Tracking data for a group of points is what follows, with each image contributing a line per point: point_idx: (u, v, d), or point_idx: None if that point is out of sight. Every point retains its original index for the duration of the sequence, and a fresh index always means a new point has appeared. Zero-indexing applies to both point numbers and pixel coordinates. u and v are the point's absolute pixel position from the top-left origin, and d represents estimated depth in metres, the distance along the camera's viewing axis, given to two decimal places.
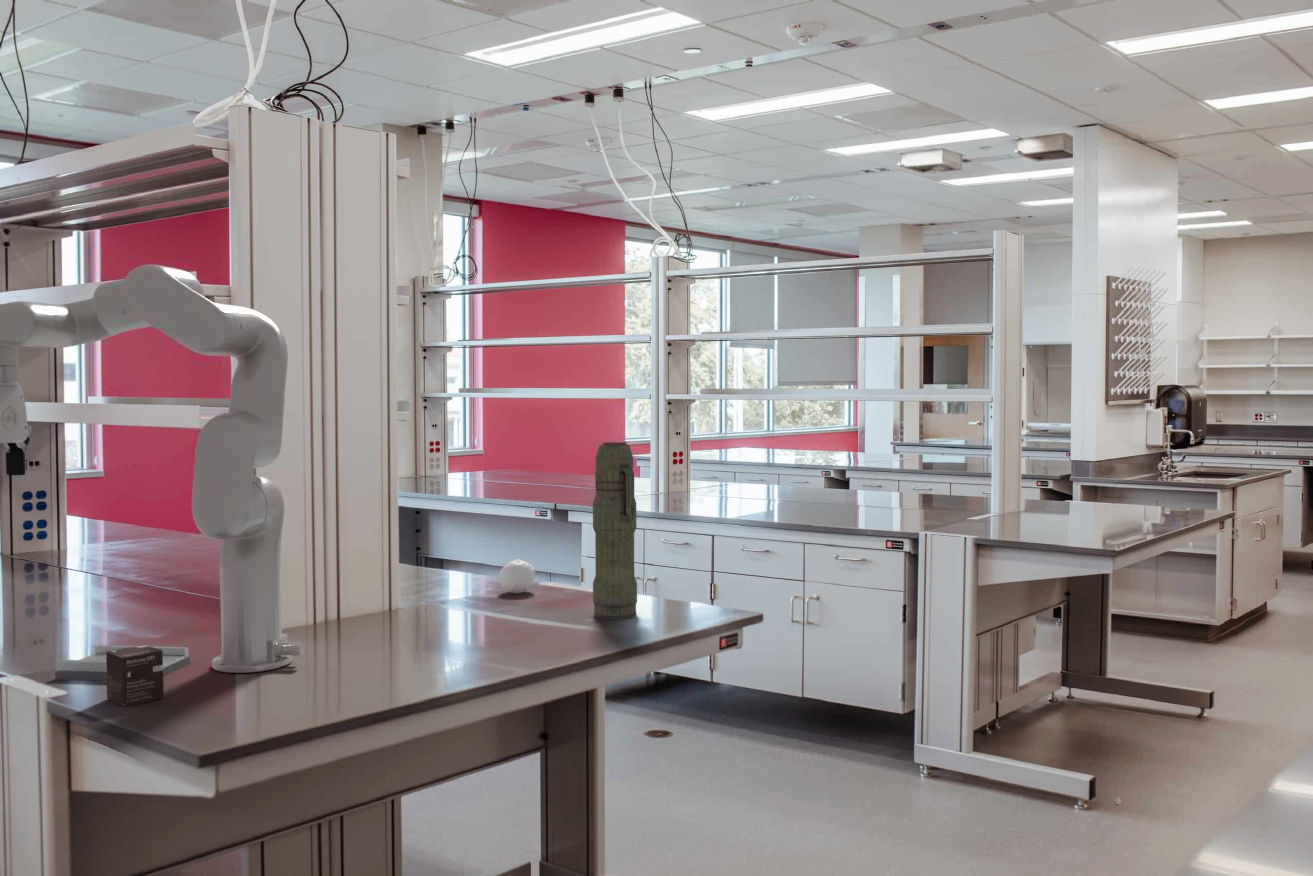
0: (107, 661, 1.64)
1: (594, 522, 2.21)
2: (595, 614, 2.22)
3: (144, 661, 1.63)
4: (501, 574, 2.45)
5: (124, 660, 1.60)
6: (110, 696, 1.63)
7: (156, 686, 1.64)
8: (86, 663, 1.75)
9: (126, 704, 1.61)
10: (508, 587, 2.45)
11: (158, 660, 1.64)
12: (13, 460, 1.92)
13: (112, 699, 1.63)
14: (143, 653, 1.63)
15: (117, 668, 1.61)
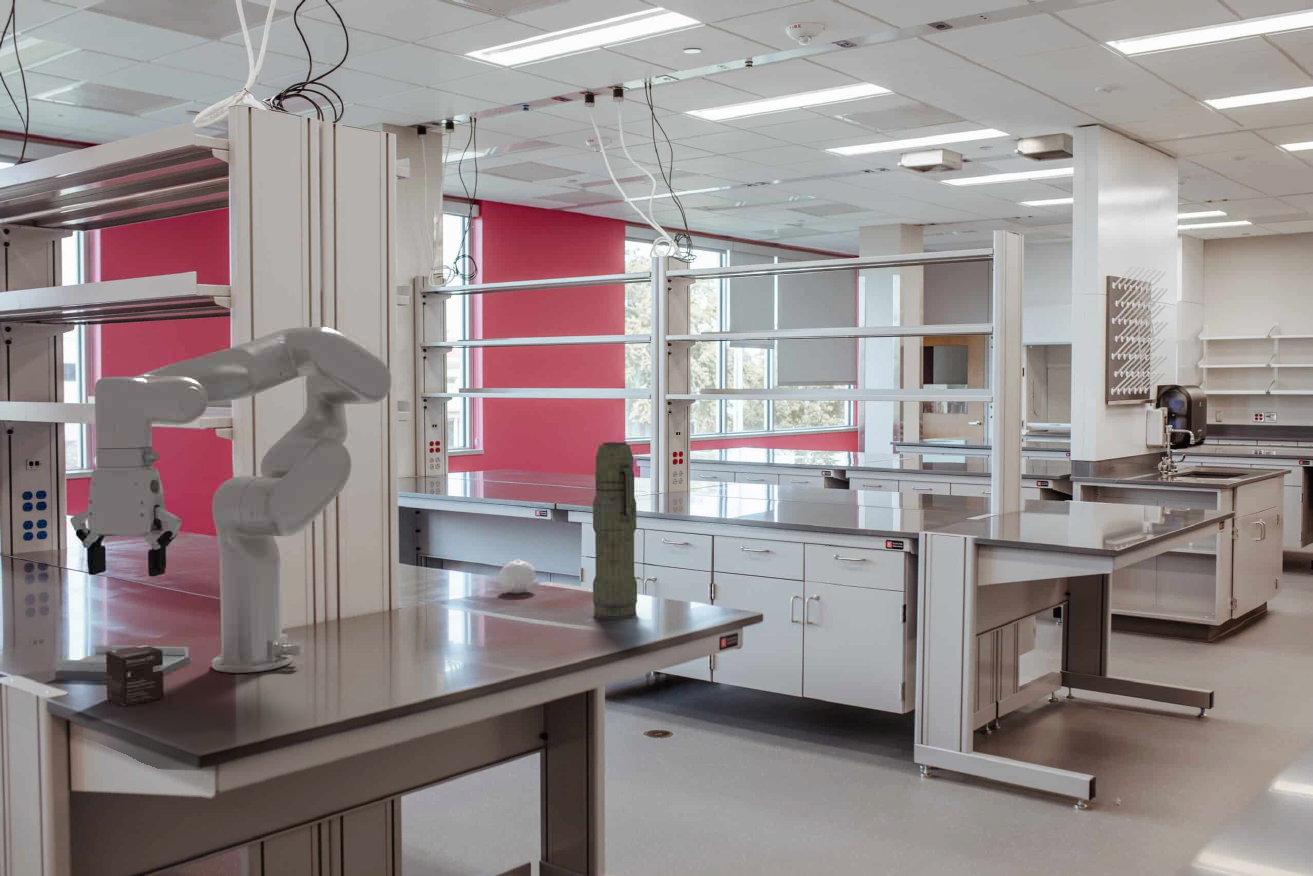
0: (107, 661, 1.64)
1: (594, 522, 2.21)
2: (595, 614, 2.22)
3: (144, 661, 1.63)
4: (501, 574, 2.45)
5: (124, 660, 1.60)
6: (110, 696, 1.63)
7: (156, 686, 1.64)
8: (86, 663, 1.75)
9: (126, 704, 1.61)
10: (508, 587, 2.45)
11: (158, 659, 1.64)
12: (99, 556, 1.65)
13: (112, 699, 1.63)
14: (143, 653, 1.63)
15: (117, 668, 1.61)
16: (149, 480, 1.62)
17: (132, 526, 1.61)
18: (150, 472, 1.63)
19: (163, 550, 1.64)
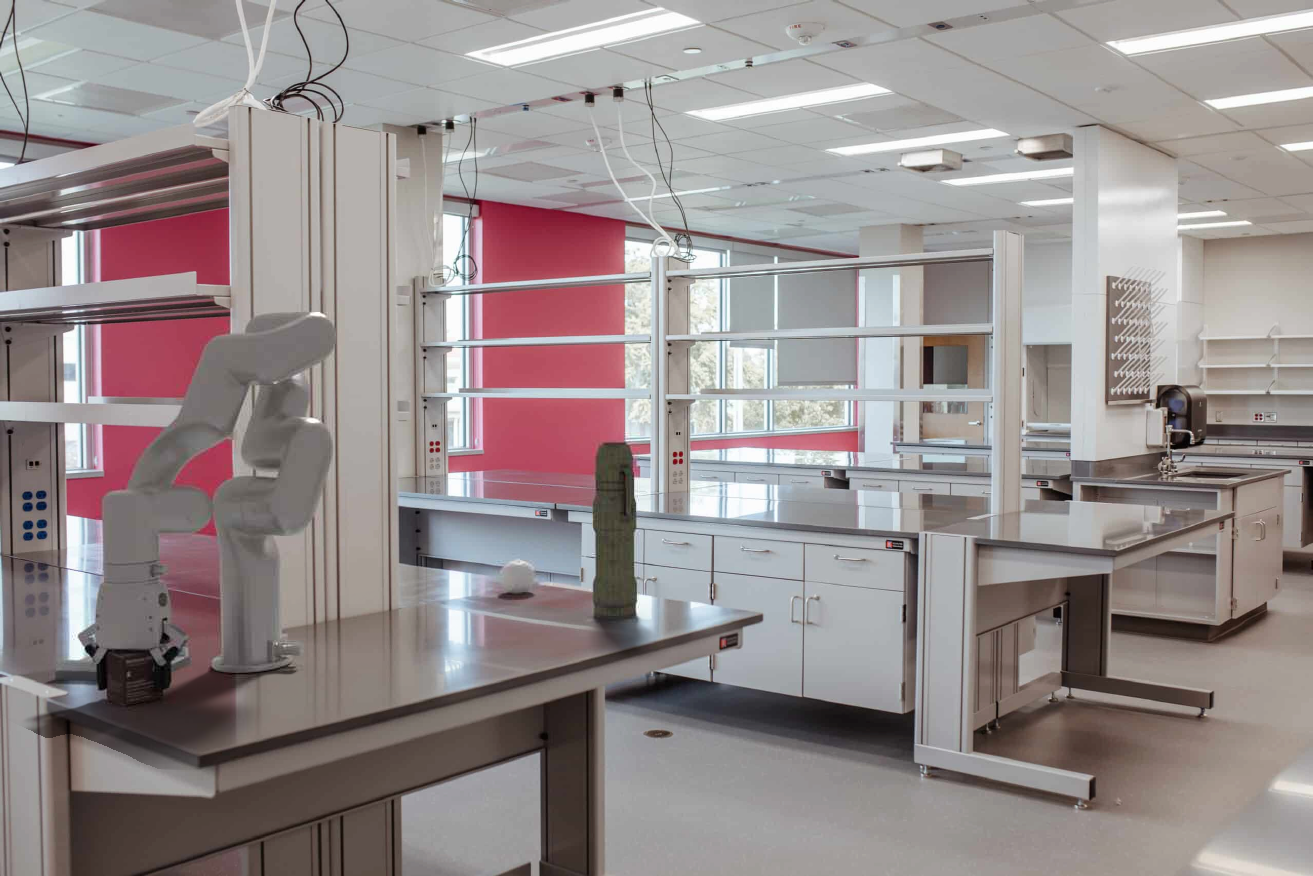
0: (107, 661, 1.64)
1: (594, 523, 2.21)
2: (595, 614, 2.22)
3: (144, 660, 1.63)
4: (501, 574, 2.45)
5: (123, 660, 1.60)
6: (110, 696, 1.63)
7: None
8: (86, 663, 1.75)
9: (126, 704, 1.61)
10: (508, 587, 2.45)
11: None
12: None
13: (112, 699, 1.63)
14: (143, 653, 1.63)
15: (116, 668, 1.61)
16: (157, 594, 1.62)
17: (141, 640, 1.62)
18: (158, 586, 1.63)
19: (169, 665, 1.64)
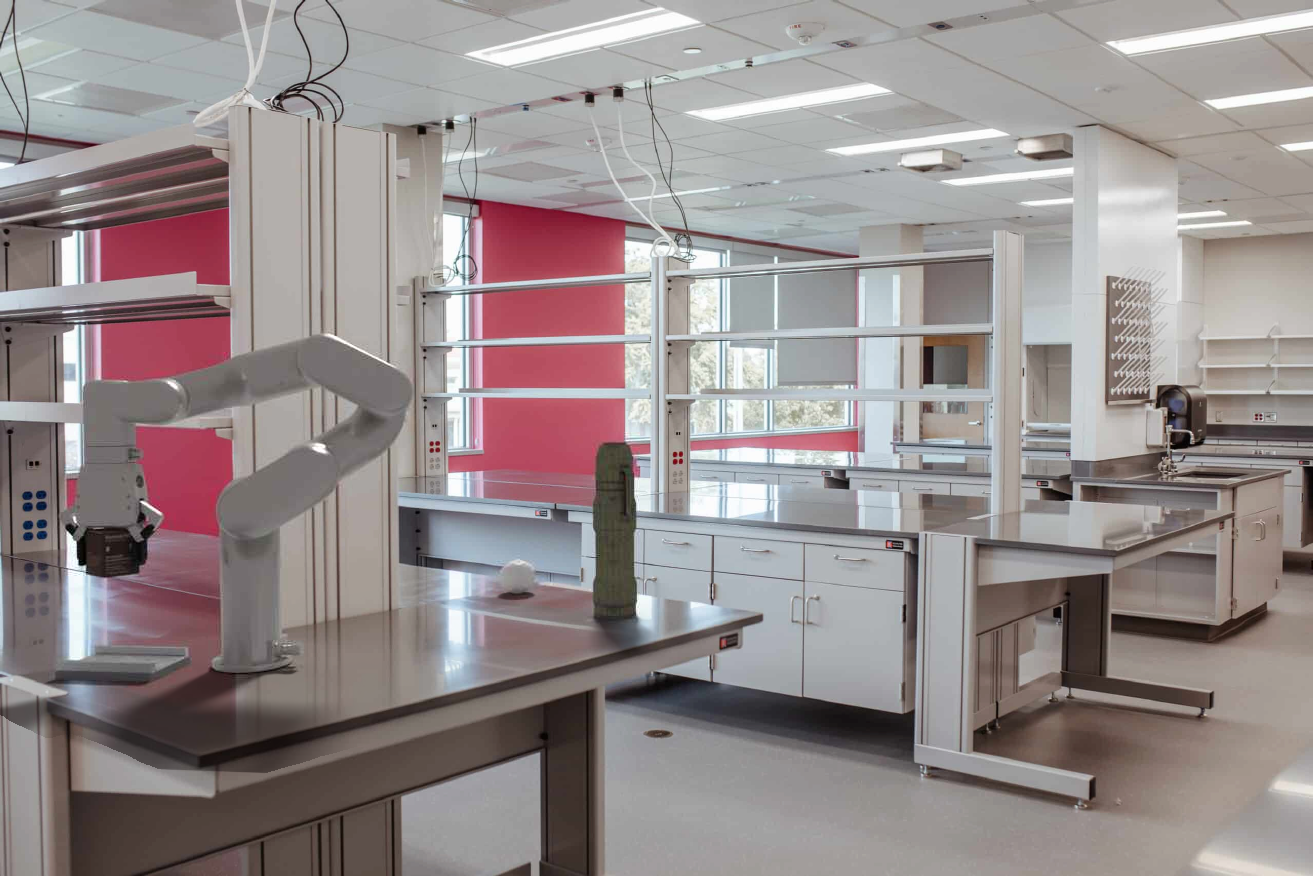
0: (86, 538, 1.76)
1: (594, 523, 2.21)
2: (595, 614, 2.22)
3: (122, 537, 1.75)
4: (501, 574, 2.45)
5: (103, 536, 1.73)
6: (89, 571, 1.76)
7: None
8: (86, 663, 1.75)
9: (105, 576, 1.73)
10: (508, 587, 2.45)
11: None
12: None
13: (91, 573, 1.75)
14: (120, 530, 1.75)
15: (96, 543, 1.74)
16: (135, 475, 1.75)
17: (119, 518, 1.74)
18: (135, 468, 1.76)
19: (145, 542, 1.77)
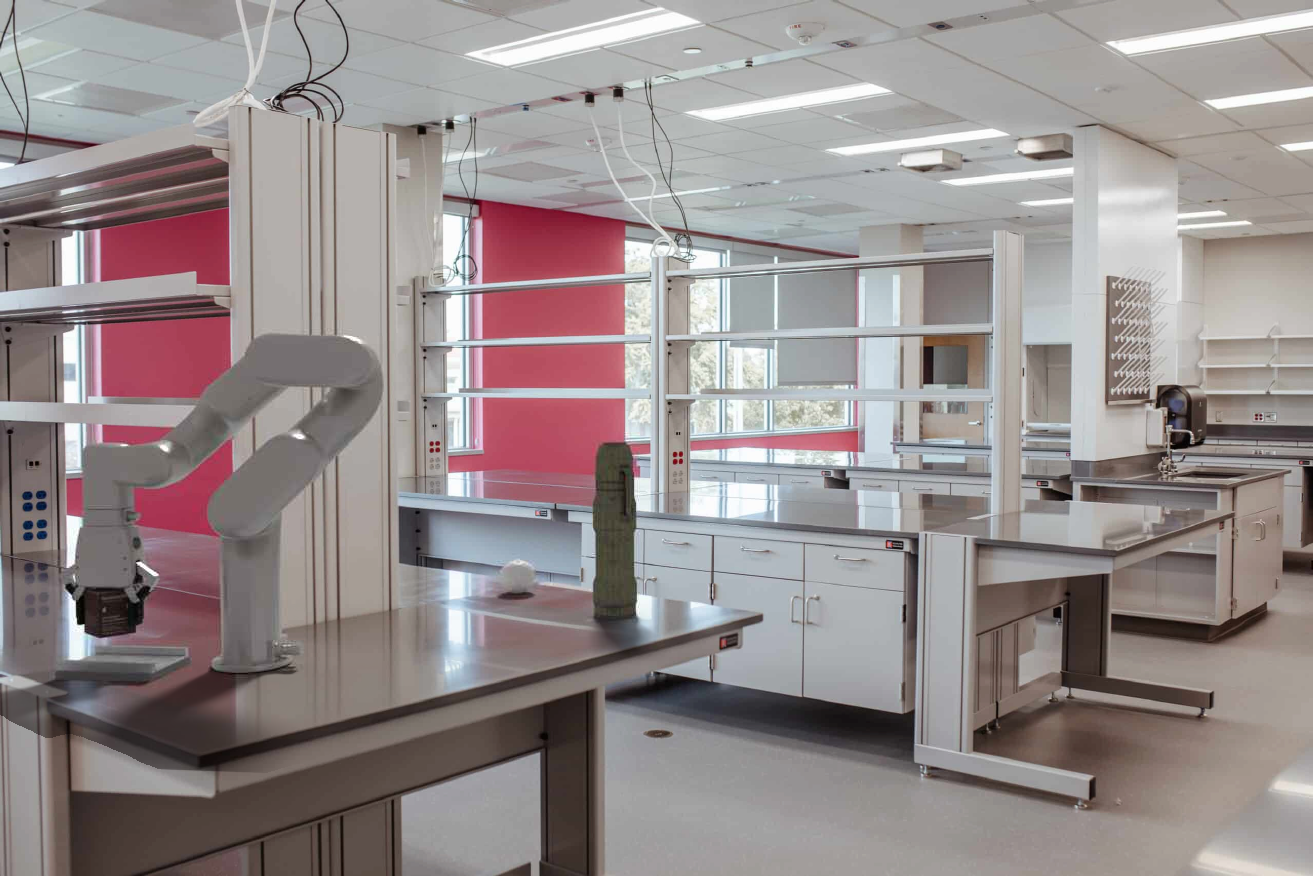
0: (85, 598, 1.80)
1: (594, 522, 2.21)
2: (595, 614, 2.22)
3: (119, 598, 1.79)
4: (501, 574, 2.45)
5: (100, 597, 1.76)
6: (87, 630, 1.79)
7: None
8: (86, 663, 1.75)
9: (101, 637, 1.77)
10: (508, 587, 2.45)
11: None
12: None
13: (89, 633, 1.79)
14: (117, 591, 1.79)
15: (93, 604, 1.77)
16: (132, 537, 1.78)
17: (116, 579, 1.78)
18: (132, 530, 1.79)
19: (141, 603, 1.80)
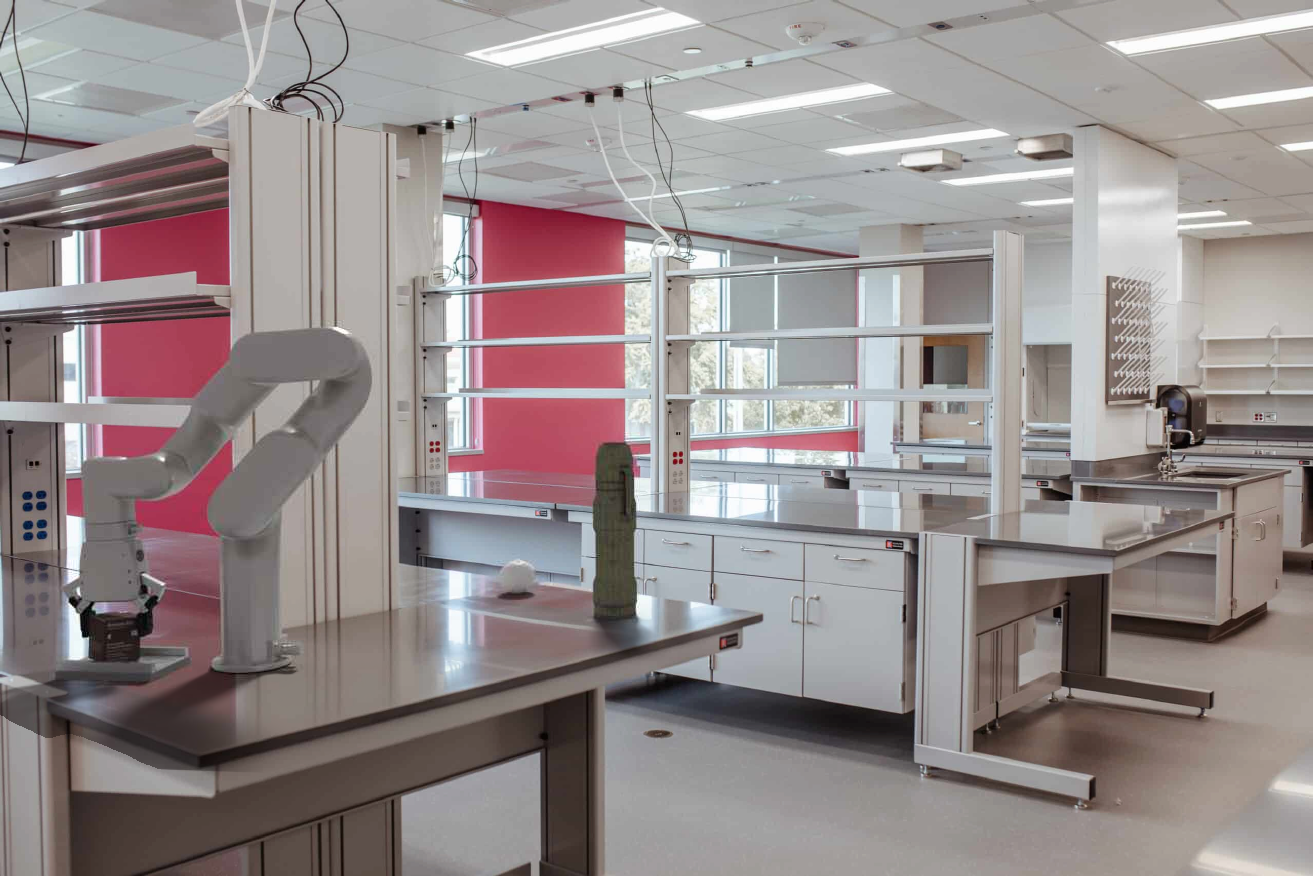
0: (90, 623, 1.80)
1: (594, 522, 2.21)
2: (595, 614, 2.22)
3: (124, 625, 1.79)
4: (501, 574, 2.45)
5: (105, 624, 1.77)
6: (91, 655, 1.80)
7: (133, 649, 1.80)
8: (86, 663, 1.75)
9: None
10: (508, 587, 2.45)
11: (136, 625, 1.80)
12: None
13: (92, 658, 1.79)
14: (123, 618, 1.79)
15: (98, 630, 1.78)
16: (135, 550, 1.79)
17: (121, 593, 1.78)
18: (135, 543, 1.79)
19: (150, 613, 1.80)
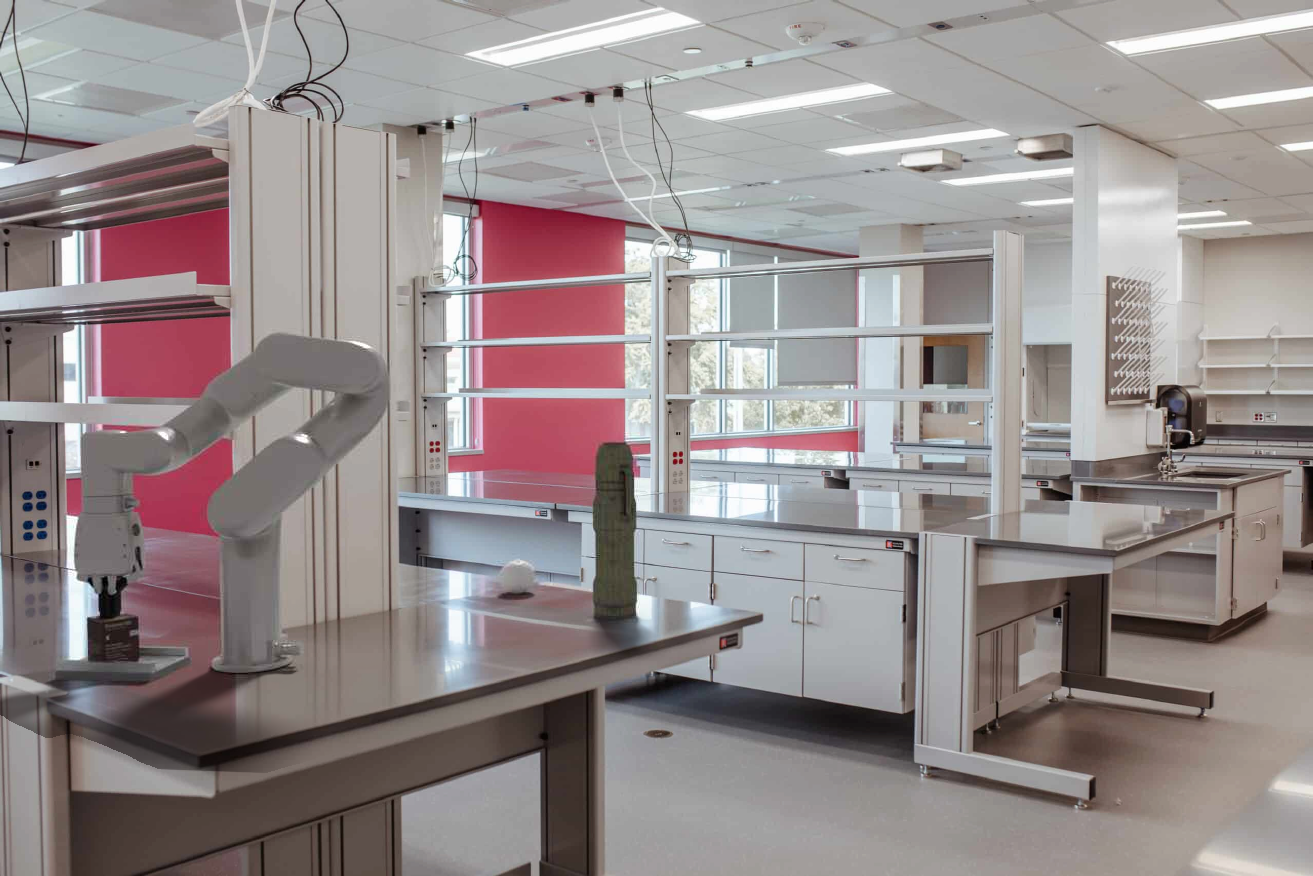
0: (88, 626, 1.80)
1: (594, 522, 2.21)
2: (595, 614, 2.22)
3: (122, 625, 1.79)
4: (501, 574, 2.45)
5: (103, 625, 1.77)
6: (90, 658, 1.80)
7: (132, 649, 1.80)
8: (86, 663, 1.75)
9: None
10: (508, 587, 2.45)
11: (134, 625, 1.80)
12: None
13: (92, 660, 1.79)
14: (120, 618, 1.79)
15: (96, 632, 1.78)
16: (131, 524, 1.78)
17: (115, 566, 1.78)
18: (132, 517, 1.79)
19: (119, 594, 1.80)
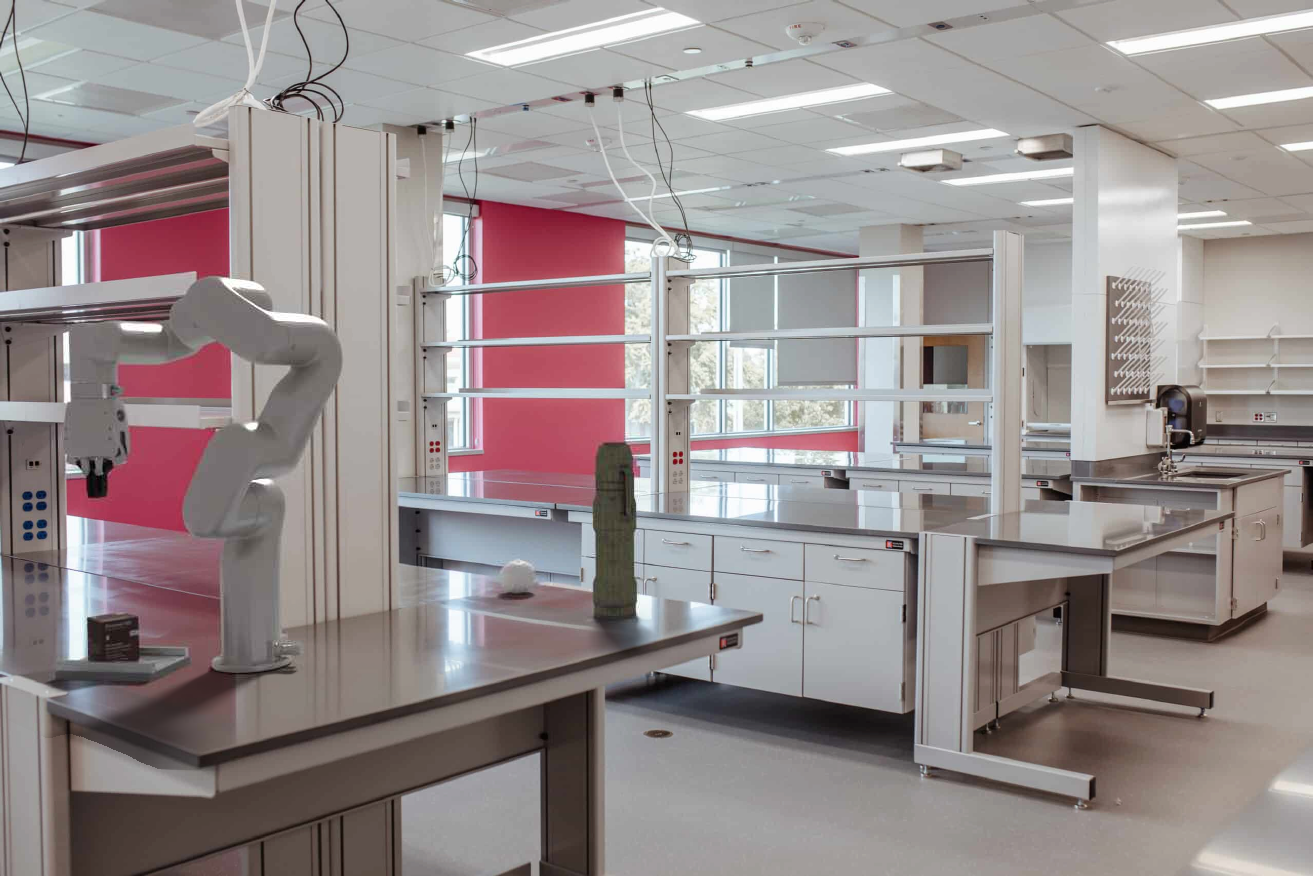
0: (88, 626, 1.80)
1: (594, 523, 2.21)
2: (595, 614, 2.22)
3: (122, 625, 1.79)
4: (501, 574, 2.45)
5: (103, 625, 1.77)
6: (90, 658, 1.80)
7: (132, 649, 1.80)
8: (86, 663, 1.75)
9: None
10: (508, 587, 2.45)
11: (134, 625, 1.80)
12: None
13: (92, 660, 1.79)
14: (120, 618, 1.79)
15: (96, 632, 1.78)
16: (116, 410, 1.92)
17: (102, 448, 1.92)
18: (117, 403, 1.93)
19: (105, 476, 1.95)
